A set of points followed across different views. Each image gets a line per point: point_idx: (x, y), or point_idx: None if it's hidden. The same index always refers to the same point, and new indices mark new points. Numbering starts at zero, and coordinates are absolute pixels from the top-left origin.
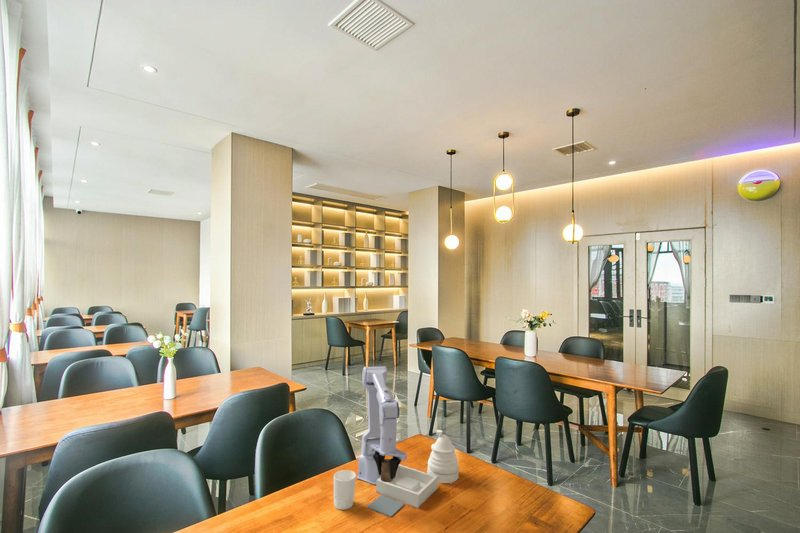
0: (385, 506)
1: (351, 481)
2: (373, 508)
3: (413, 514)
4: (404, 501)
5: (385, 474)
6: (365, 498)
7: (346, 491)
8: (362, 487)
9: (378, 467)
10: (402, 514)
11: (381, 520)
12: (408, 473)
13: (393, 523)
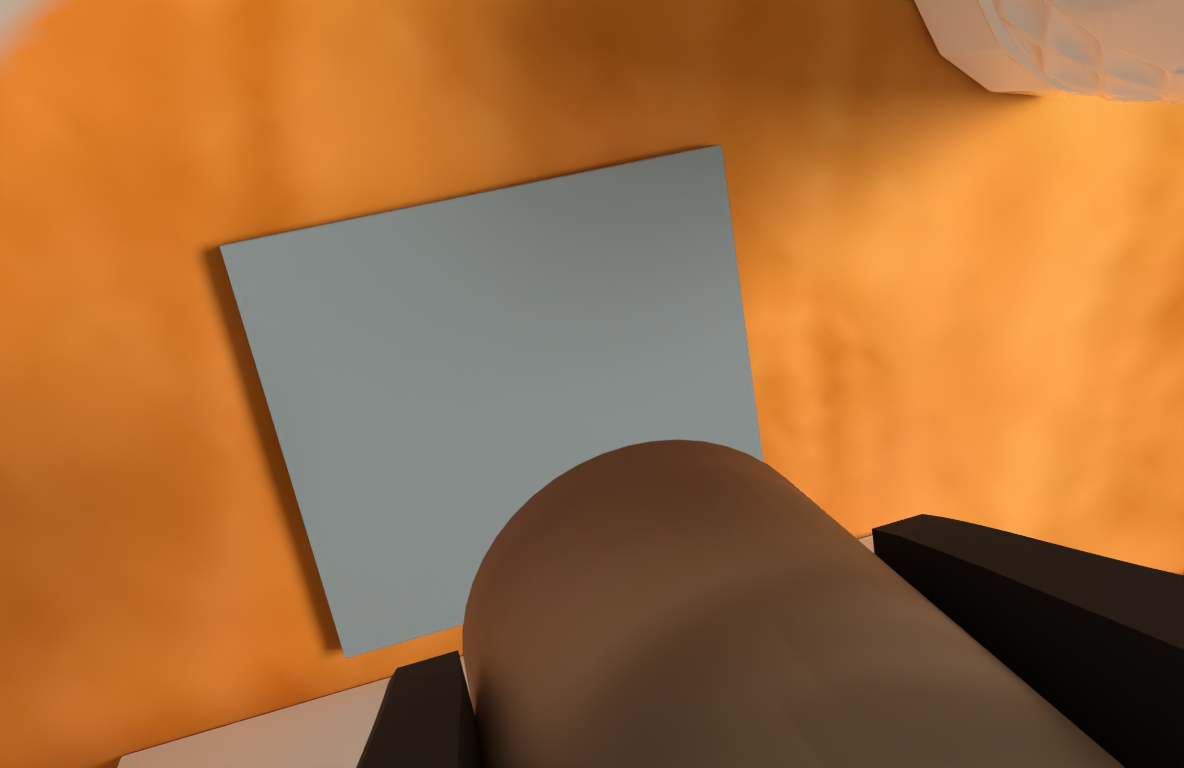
0: (505, 376)
1: None
2: (604, 184)
3: (29, 589)
4: (384, 692)
5: (639, 580)
6: (895, 310)
7: None
8: (1098, 468)
9: (1122, 593)
10: (159, 452)
11: (270, 55)
12: None
13: (47, 146)
